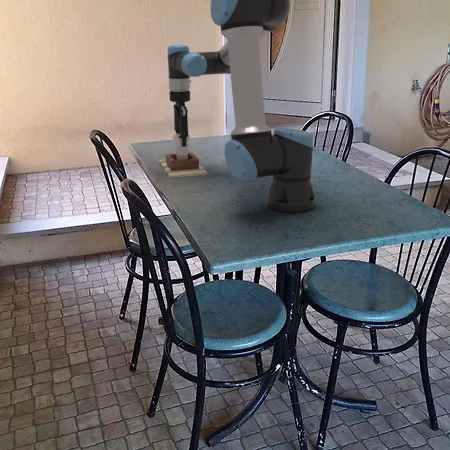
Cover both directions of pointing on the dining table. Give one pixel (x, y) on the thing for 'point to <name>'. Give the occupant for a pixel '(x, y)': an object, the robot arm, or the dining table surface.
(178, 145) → the smoothie
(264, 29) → the robot arm
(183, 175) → the socket board
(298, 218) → the dining table surface
